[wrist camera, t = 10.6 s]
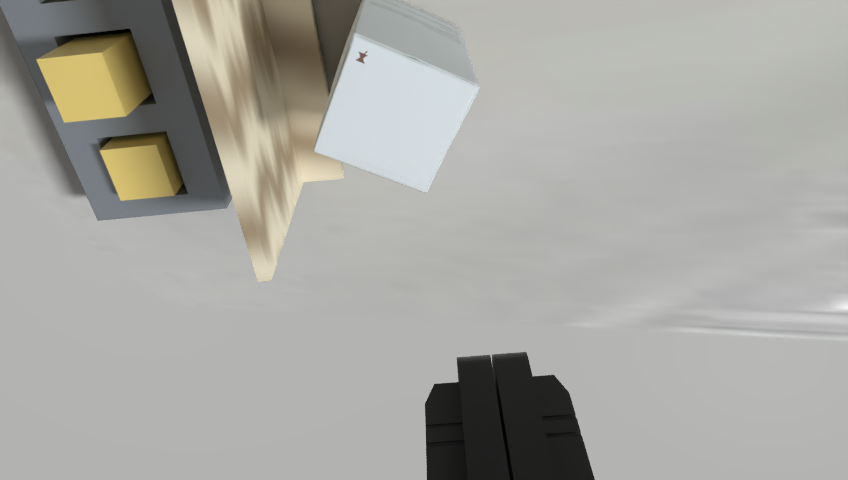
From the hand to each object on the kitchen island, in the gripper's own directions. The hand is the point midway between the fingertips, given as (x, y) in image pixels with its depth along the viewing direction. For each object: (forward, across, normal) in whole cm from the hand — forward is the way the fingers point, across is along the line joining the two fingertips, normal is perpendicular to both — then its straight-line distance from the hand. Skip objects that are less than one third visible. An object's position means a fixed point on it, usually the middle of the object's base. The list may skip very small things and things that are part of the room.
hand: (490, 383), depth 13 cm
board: (+34, +22, 0) cm, 41 cm away
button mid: (+32, +22, 0) cm, 39 cm away
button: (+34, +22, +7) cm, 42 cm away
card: (+35, +11, 0) cm, 36 cm away
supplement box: (+35, +3, +2) cm, 35 cm away
